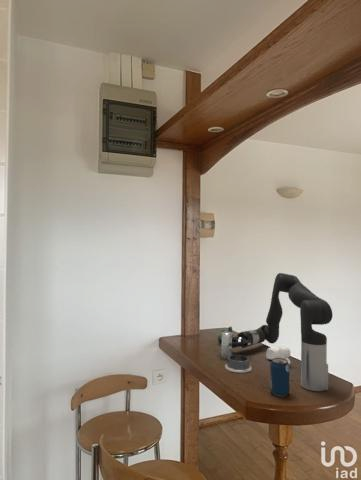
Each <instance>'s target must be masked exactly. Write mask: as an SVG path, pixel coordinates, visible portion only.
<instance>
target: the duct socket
mask: <svg viewBox="0 0 361 480" xmlns="http://www.w3.org/2000/svg"><path fill="white" fill-rule="evenodd" d="M252 368H253V367H252V365H251V364H250V357H249V356H246V355H242V354H232V355H231V356H228V359H227V363H225V365H224V369H225V370H226V371H227V372H229V373H235V374H247V373H250V372H251V371H252V370H253V369H252Z"/></svg>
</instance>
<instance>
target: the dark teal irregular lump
mask: <svg viewBox="0 0 361 480" xmlns="http://www.w3.org/2000/svg"><path fill="white" fill-rule="evenodd" d="M227 328H228V329H227V330H225V329H222V330H221V333H219V335H218V336H217V342H218V345H219V346H221V347H222V344H219V339H222V332H232V336H236V335H235V334H233V327H232V326H229V327H227Z"/></svg>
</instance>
